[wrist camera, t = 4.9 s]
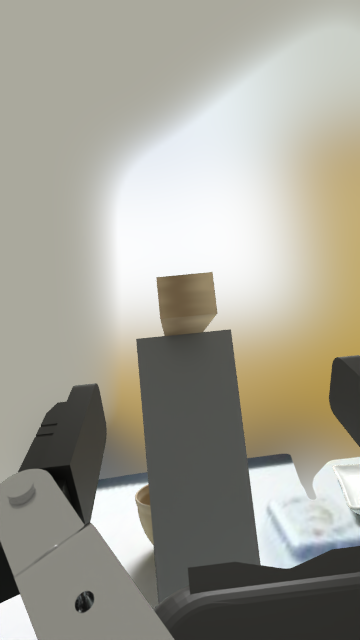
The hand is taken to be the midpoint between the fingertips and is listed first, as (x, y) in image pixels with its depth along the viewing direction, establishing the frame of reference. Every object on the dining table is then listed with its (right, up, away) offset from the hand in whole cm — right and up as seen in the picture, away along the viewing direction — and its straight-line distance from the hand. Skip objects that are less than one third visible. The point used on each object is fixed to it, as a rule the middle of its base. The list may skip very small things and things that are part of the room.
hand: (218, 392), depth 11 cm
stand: (+3, -37, +28) cm, 46 cm away
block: (-1, +1, +27) cm, 27 cm away
